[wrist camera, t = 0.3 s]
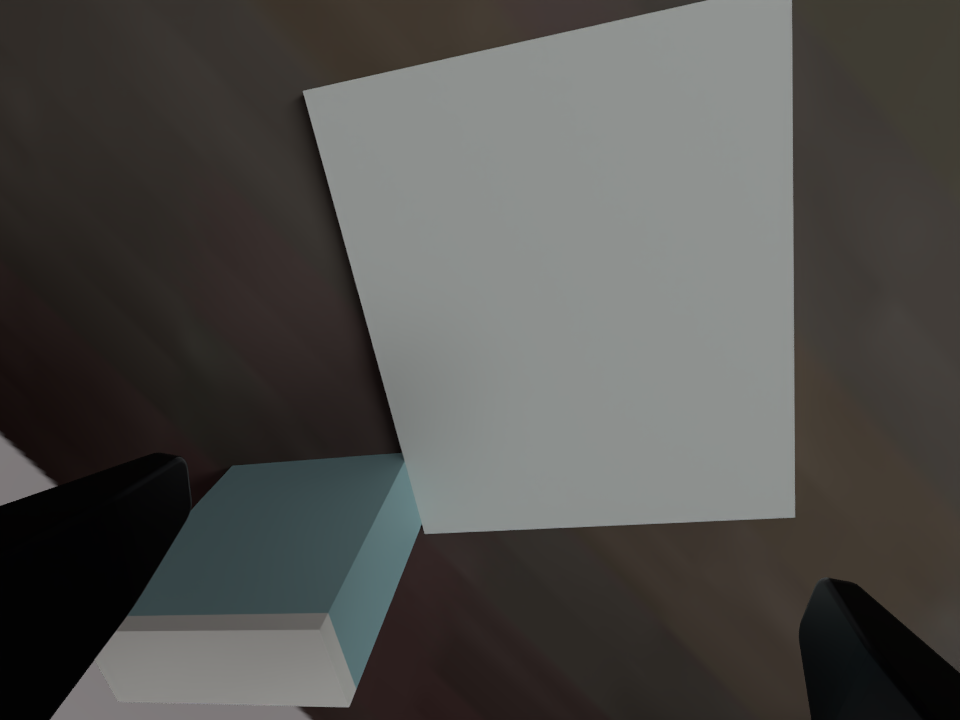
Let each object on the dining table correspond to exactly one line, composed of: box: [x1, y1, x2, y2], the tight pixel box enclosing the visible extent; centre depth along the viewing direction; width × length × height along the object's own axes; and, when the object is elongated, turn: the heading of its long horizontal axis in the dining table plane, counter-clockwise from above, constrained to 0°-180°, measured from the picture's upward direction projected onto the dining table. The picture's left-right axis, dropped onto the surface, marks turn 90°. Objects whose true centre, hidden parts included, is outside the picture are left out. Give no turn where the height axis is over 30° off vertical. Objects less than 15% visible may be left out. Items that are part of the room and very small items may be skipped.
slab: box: [95, 453, 422, 707], centre depth 23 cm, size 3×8×9 cm, turn 101°
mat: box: [303, 0, 795, 534], centre depth 22 cm, size 17×14×1 cm
